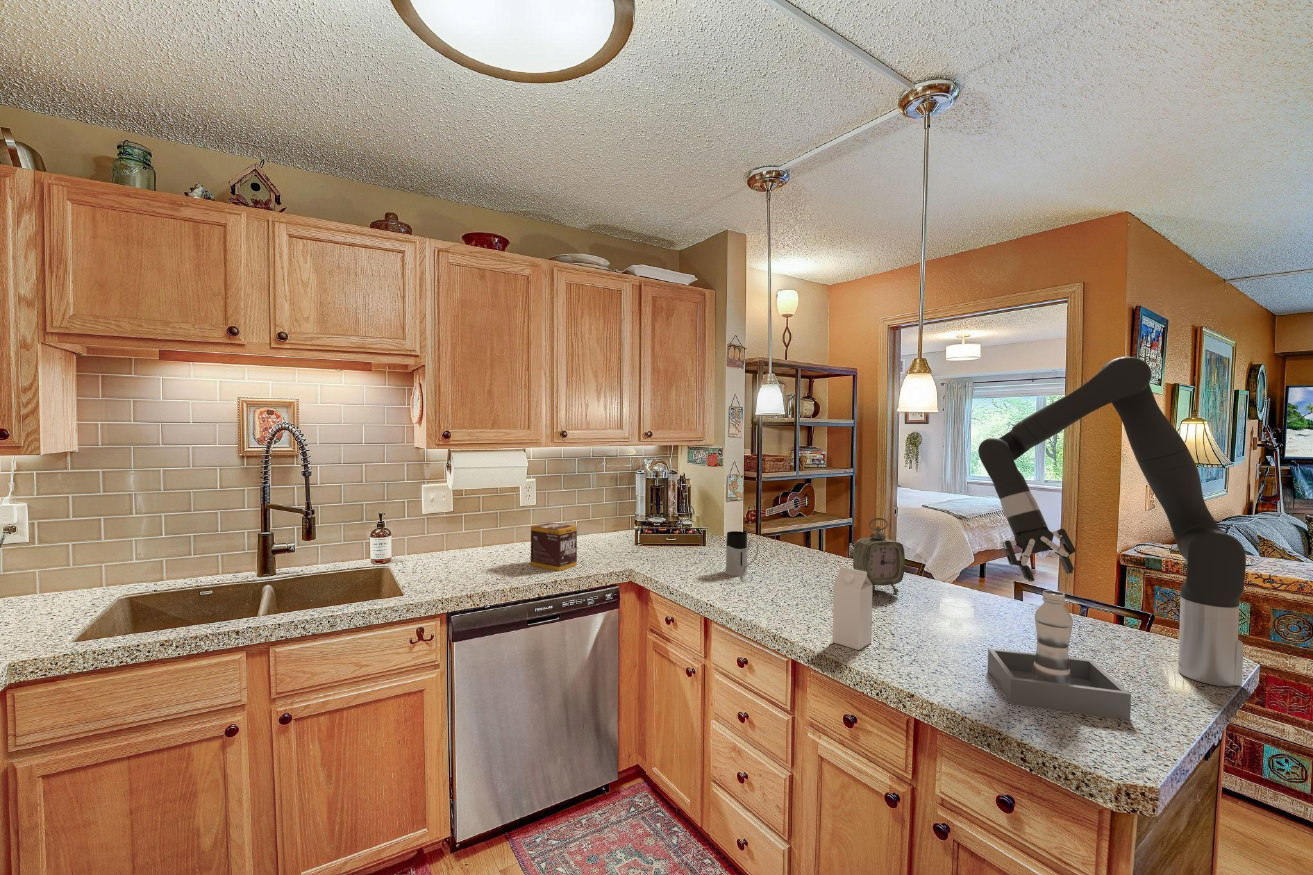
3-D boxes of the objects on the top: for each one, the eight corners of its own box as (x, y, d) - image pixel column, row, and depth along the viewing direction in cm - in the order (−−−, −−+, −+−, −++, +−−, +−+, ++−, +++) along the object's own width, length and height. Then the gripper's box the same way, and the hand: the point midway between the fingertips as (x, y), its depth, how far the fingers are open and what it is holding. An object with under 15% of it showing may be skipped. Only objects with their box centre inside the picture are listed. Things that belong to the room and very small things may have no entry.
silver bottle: (1033, 677, 121) (1035, 586, 120) (1072, 686, 116) (1074, 592, 116) (1030, 688, 116) (1032, 593, 115) (1070, 698, 111) (1073, 600, 111)
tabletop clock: (864, 597, 179) (866, 520, 179) (849, 588, 188) (850, 515, 188) (904, 594, 182) (905, 519, 182) (887, 586, 191) (888, 514, 191)
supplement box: (559, 571, 207) (559, 530, 207) (530, 565, 216) (530, 525, 215) (577, 565, 216) (577, 526, 216) (548, 560, 224) (549, 521, 224)
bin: (1091, 682, 120) (1092, 659, 120) (1130, 720, 105) (1130, 694, 105) (987, 669, 126) (988, 648, 126) (1010, 703, 111) (1010, 679, 111)
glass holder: (734, 568, 214) (735, 529, 213) (765, 576, 203) (765, 535, 203) (720, 572, 208) (720, 532, 207) (750, 580, 197) (750, 538, 197)
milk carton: (845, 635, 146) (846, 564, 146) (871, 643, 141) (872, 569, 141) (832, 642, 141) (833, 569, 141) (858, 650, 136) (860, 574, 136)
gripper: (997, 517, 137) (1024, 583, 131) (1059, 503, 134) (1090, 569, 129) (988, 521, 144) (1014, 584, 138) (1047, 508, 141) (1076, 571, 136)
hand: (1050, 577), depth 134 cm, fingers open, 8 cm apart
